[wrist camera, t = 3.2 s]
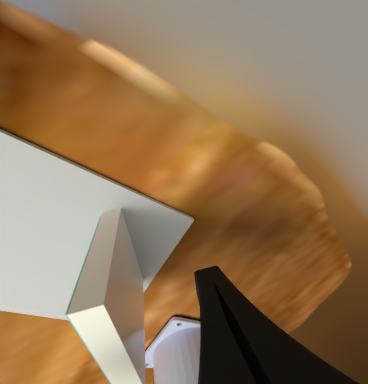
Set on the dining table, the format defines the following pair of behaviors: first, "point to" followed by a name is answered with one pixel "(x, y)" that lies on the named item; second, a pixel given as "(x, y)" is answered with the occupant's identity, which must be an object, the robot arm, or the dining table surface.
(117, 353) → the tile
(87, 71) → the dining table surface
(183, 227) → the felt pad
